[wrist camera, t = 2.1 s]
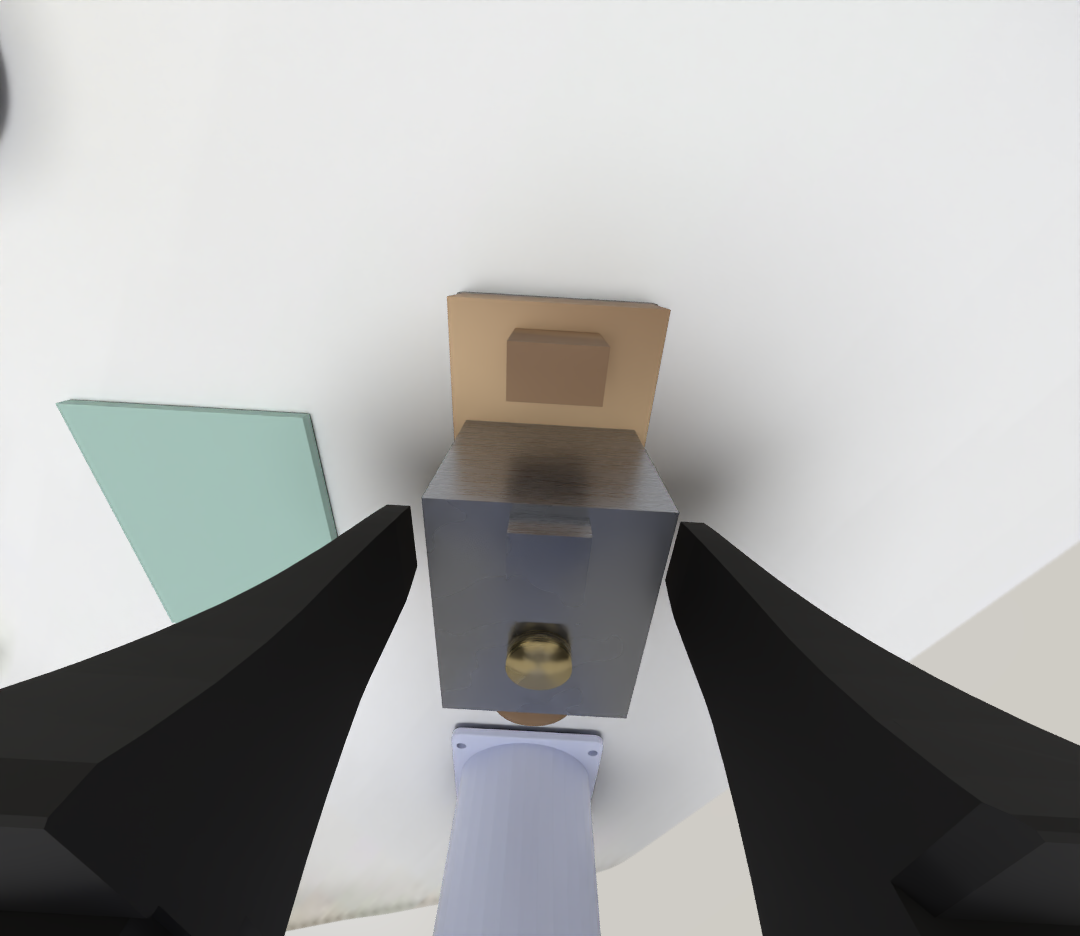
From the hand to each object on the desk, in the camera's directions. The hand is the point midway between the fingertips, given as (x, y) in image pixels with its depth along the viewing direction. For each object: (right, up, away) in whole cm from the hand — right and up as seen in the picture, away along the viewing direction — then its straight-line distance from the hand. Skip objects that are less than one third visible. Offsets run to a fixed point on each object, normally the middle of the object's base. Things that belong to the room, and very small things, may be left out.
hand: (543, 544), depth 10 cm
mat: (-12, 0, +5) cm, 13 cm away
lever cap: (0, +1, +1) cm, 1 cm away
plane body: (0, +1, +4) cm, 4 cm away
